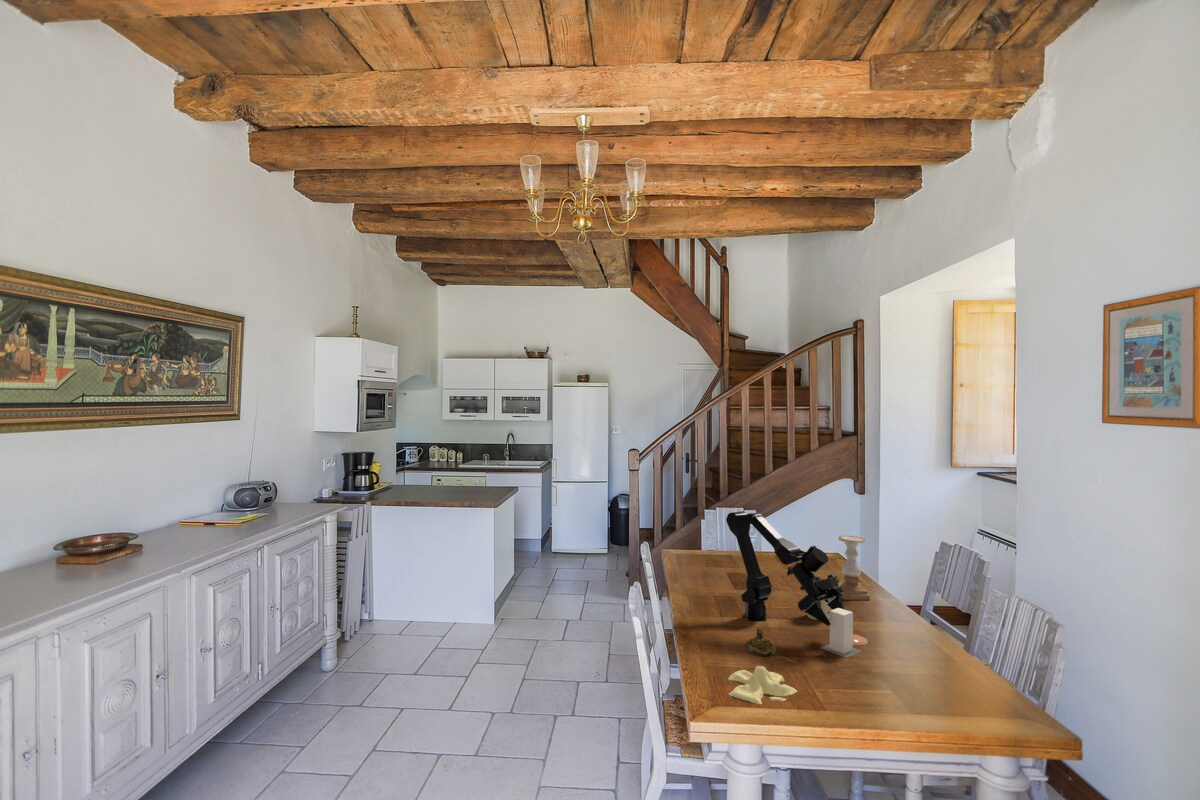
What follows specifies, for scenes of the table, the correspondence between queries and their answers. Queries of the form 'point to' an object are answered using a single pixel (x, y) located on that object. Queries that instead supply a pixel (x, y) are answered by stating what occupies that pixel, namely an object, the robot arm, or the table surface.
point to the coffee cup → (825, 609)
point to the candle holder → (852, 571)
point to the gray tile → (841, 653)
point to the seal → (761, 645)
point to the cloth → (759, 685)
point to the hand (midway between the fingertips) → (837, 622)
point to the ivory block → (841, 630)
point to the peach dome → (859, 640)
